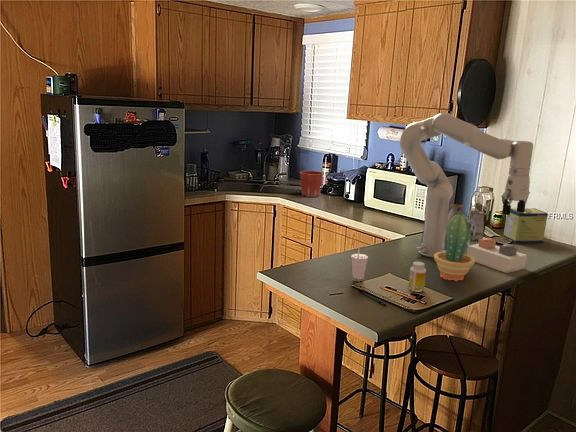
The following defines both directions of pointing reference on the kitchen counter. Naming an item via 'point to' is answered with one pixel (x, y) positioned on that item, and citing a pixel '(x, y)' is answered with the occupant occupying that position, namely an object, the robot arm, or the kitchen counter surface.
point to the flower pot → (311, 183)
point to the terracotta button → (487, 243)
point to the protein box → (525, 226)
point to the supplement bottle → (417, 276)
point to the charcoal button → (508, 249)
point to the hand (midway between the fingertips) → (513, 213)
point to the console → (497, 258)
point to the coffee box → (477, 226)
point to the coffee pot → (455, 211)
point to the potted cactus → (456, 249)
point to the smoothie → (359, 264)
